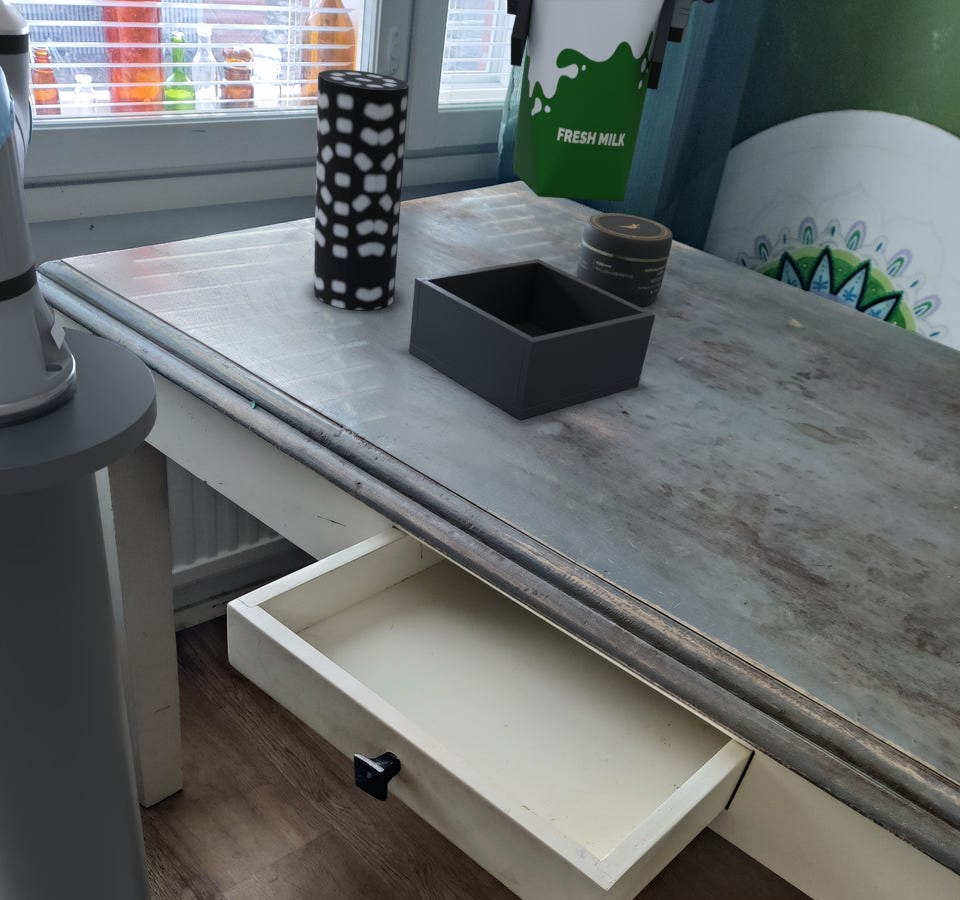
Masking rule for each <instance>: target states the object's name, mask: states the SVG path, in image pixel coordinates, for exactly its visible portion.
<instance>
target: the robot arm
mask: <svg viewBox="0 0 960 900" xmlns="http://www.w3.org/2000/svg"><path fill="white" fill-rule="evenodd" d="M697 1H698V0H664V5H663V10H662V15H661V20H660V25H659V30H658V35H657V39H656V44H655V49H654V54H653V59H652V64H651V69H650V74H649V79H648V84H647V89H649V90H655V91H658V89H659V88H658V87H659V84H660V79H661V74H662V71H663V70H662V69H663V65H664V59H665V55H666V50H667V44H668V42H671V43H677V44H681V43H682V41H683V40H684V39H685V36H686V32H687V27H688V25H689V24H688V23H689V19H690V13H691V9H692V5H693V4H694V3H695V2H697ZM716 1H717V0H702V2H704V3H705V4H713V3H714V2H716ZM531 6H532V0H505V12H506V14H507V15H511V16H514V21H513V26H512V31H511V35H510V66H515V67H522V63H523V60H524V59H523V58H524V56H525V55H524V54H525V51H526V46H527V38H528V30H529V22H530V14H531ZM29 29H30V28H29V24H28V21H27V20H26V19H25V18H24V16H23V15H22V14H21V13H20V11H19V10H18V9H17V7H16V6H15V4H13V2H12V1H11V0H0V428H4V427H9V426H14V425H19V424H22V423H26V422H30V421H33V420H36V419H39V418H41V417H44V416H46V415H48V414H50V413H52V412H54V411H56V410H58V409H59V408H61V407H62V406H64V405H65V404H66V403H67V402H69V401H70V400H71V398H72V397H73V396H74V394H75V392H76V390H77V384H78V383H77V376H76V368H75V361H74V358H73V356H72V354H71V352H70V350H69V348H68V346H67V344H66V342H65V340H64V336H65V332H64V330H63V328H62V327H63V326H62V323H61V321H60V320H59V317H58V316H56V318H55V317H54V315H53V314H52V311H51V310H50V308H49V306H48V303H47V302H46V300H45V297H44V296H43V294H42V292H41V289H40V286H39V281H38V276H37V269H36V263H35V254H34V248H33V247H34V246H33V241H32V234H31V229H30V221H29V215H28V208H27V202H26V201H27V200H26V195H25V186H24V172H25V166H26V160H27V159H26V158H27V153H28V151H29V145H31V141H32V136H33V129H34V116H33V115H34V113H33V112H34V111H33V105H32V103H31V101H30V90H29V89H30V47H29V46H30V45H29V44H30V40H29V39H30V34H29V33H30V30H29Z"/></svg>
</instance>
